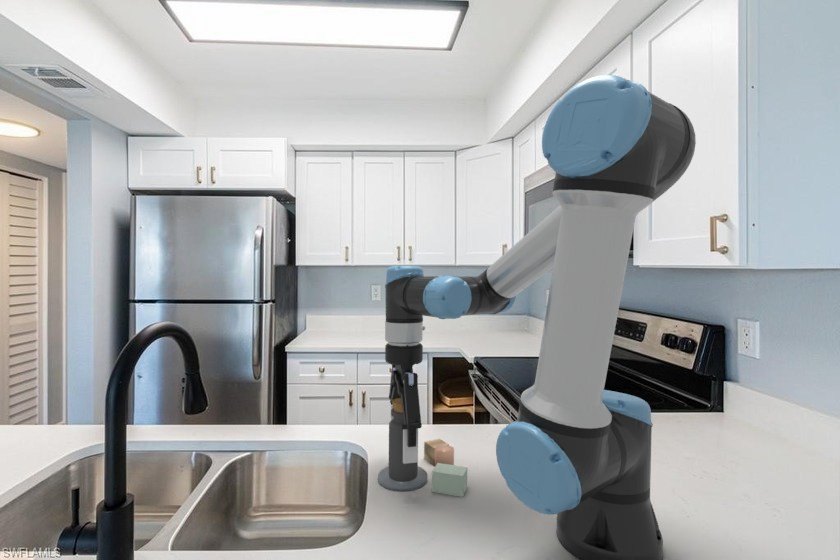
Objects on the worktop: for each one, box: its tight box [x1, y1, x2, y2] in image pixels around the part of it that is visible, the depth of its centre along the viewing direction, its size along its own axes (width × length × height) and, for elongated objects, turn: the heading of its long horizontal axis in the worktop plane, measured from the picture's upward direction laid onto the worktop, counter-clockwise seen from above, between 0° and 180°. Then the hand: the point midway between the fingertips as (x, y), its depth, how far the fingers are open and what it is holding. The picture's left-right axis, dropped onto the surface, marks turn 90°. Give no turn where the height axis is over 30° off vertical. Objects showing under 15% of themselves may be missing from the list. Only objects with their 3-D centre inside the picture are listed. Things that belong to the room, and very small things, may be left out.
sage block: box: [431, 463, 468, 497], centre depth 83 cm, size 4×6×4 cm, turn 72°
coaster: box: [377, 466, 429, 492], centre depth 87 cm, size 10×10×1 cm
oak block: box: [423, 438, 450, 467], centre depth 96 cm, size 4×4×4 cm
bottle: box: [388, 398, 419, 482], centre depth 87 cm, size 6×6×15 cm
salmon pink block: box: [434, 445, 455, 467], centre depth 90 cm, size 4×4×5 cm
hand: (403, 448), depth 87 cm, fingers open, 13 cm apart
